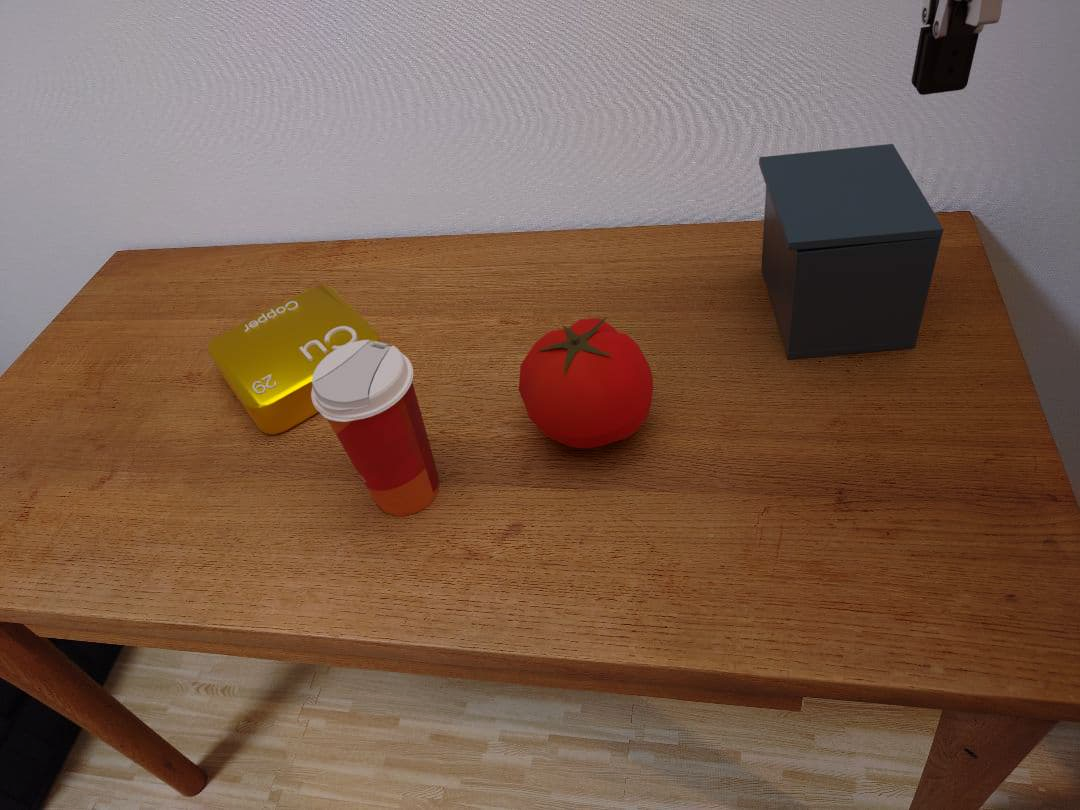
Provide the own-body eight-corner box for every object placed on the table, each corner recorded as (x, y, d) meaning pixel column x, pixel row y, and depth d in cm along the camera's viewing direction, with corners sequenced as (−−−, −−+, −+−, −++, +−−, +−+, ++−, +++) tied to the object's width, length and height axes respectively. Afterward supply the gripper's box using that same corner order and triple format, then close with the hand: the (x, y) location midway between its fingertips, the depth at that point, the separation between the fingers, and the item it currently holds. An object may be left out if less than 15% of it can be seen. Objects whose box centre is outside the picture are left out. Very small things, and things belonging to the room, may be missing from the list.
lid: (788, 250, 68) (789, 242, 68) (758, 164, 79) (759, 156, 78) (941, 237, 67) (944, 229, 67) (891, 151, 78) (893, 143, 77)
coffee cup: (394, 446, 77) (345, 327, 66) (468, 468, 74) (428, 345, 63) (344, 513, 72) (282, 395, 61) (420, 539, 69) (368, 419, 58)
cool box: (787, 359, 77) (797, 253, 69) (761, 269, 88) (766, 166, 79) (915, 348, 76) (941, 237, 67) (873, 257, 86) (891, 151, 78)
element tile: (336, 308, 94) (322, 275, 91) (397, 369, 85) (384, 335, 82) (218, 370, 89) (199, 338, 86) (268, 443, 80) (249, 409, 77)
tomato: (667, 391, 77) (662, 299, 69) (641, 482, 69) (632, 391, 62) (549, 377, 81) (532, 289, 73) (512, 463, 73) (489, 375, 65)
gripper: (1154, -241, 37) (1040, 131, 50) (1024, -277, 48) (957, 38, 60) (983, -212, 38) (914, 146, 51) (893, -253, 49) (854, 52, 61)
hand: (938, 86), depth 56 cm, fingers closed
